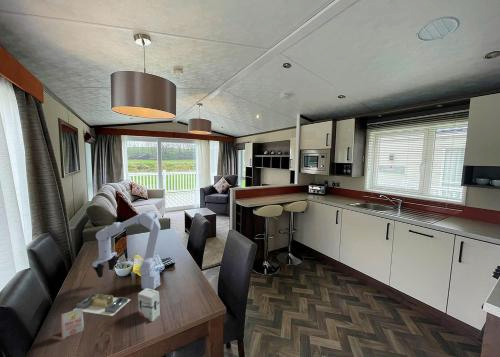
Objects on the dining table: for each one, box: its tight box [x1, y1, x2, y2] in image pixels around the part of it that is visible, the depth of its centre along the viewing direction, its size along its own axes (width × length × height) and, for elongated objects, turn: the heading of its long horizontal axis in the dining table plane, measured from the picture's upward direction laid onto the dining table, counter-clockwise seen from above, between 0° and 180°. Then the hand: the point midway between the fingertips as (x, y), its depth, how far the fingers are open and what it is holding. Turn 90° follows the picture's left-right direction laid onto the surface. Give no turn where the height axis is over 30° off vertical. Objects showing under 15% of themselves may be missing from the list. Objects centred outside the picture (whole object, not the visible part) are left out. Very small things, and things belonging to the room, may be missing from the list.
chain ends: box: [76, 293, 129, 314], centre depth 107 cm, size 21×9×2 cm, turn 81°
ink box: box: [137, 288, 161, 322], centre depth 100 cm, size 8×5×12 cm, turn 69°
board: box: [72, 296, 132, 317], centre depth 107 cm, size 22×12×1 cm, turn 81°
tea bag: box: [60, 308, 85, 341], centre depth 90 cm, size 4×7×10 cm, turn 124°
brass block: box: [91, 293, 114, 308], centre depth 107 cm, size 9×4×4 cm, turn 81°
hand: (106, 273), depth 121 cm, fingers open, 7 cm apart
